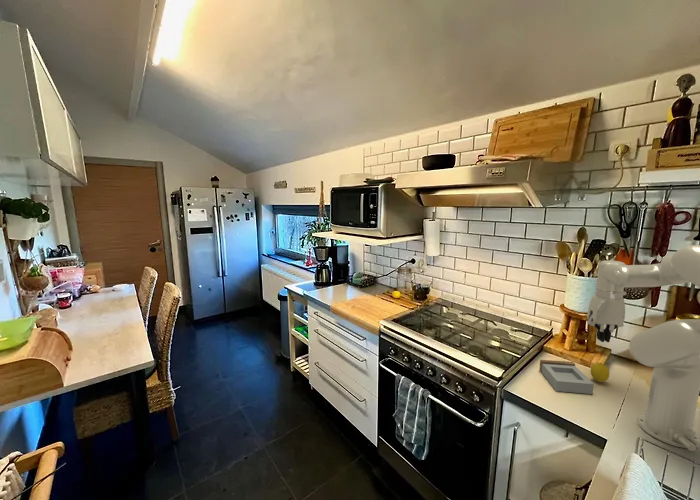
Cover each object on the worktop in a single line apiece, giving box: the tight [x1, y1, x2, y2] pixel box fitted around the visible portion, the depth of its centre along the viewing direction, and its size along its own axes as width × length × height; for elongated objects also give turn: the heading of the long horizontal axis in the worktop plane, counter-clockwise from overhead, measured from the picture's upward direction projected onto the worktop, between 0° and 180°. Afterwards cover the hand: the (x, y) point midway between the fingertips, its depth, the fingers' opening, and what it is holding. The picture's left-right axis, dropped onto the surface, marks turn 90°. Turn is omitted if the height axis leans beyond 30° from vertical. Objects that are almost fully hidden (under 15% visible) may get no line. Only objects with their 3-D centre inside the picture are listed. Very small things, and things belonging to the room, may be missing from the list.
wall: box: [538, 359, 576, 374], centre depth 120 cm, size 2×12×5 cm, turn 80°
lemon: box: [590, 362, 611, 383], centre depth 113 cm, size 6×6×8 cm
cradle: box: [541, 364, 595, 395], centre depth 113 cm, size 12×12×4 cm
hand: (603, 340), depth 111 cm, fingers closed
